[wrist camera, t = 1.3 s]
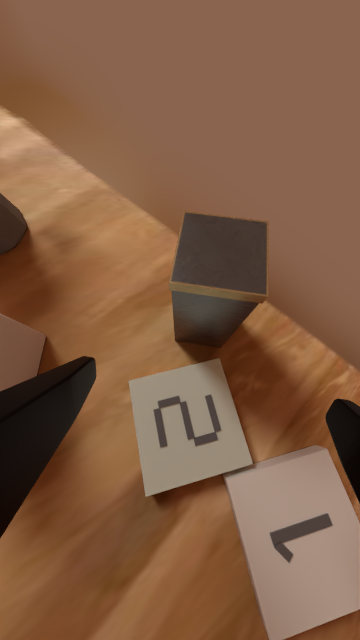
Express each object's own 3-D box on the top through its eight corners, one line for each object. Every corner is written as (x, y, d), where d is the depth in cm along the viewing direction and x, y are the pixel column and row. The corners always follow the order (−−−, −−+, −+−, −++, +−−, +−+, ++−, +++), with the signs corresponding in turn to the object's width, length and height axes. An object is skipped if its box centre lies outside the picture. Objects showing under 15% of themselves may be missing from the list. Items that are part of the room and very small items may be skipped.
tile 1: (372, 578, 15) (393, 597, 14) (261, 620, 14) (271, 646, 13) (315, 444, 18) (327, 449, 17) (222, 473, 17) (226, 480, 16)
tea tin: (221, 348, 21) (268, 296, 10) (173, 341, 22) (169, 282, 10) (225, 305, 23) (268, 221, 12) (181, 299, 24) (184, 210, 12)
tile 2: (247, 458, 18) (253, 464, 16) (148, 488, 17) (145, 497, 15) (216, 360, 21) (219, 357, 19) (132, 381, 20) (128, 380, 19)
